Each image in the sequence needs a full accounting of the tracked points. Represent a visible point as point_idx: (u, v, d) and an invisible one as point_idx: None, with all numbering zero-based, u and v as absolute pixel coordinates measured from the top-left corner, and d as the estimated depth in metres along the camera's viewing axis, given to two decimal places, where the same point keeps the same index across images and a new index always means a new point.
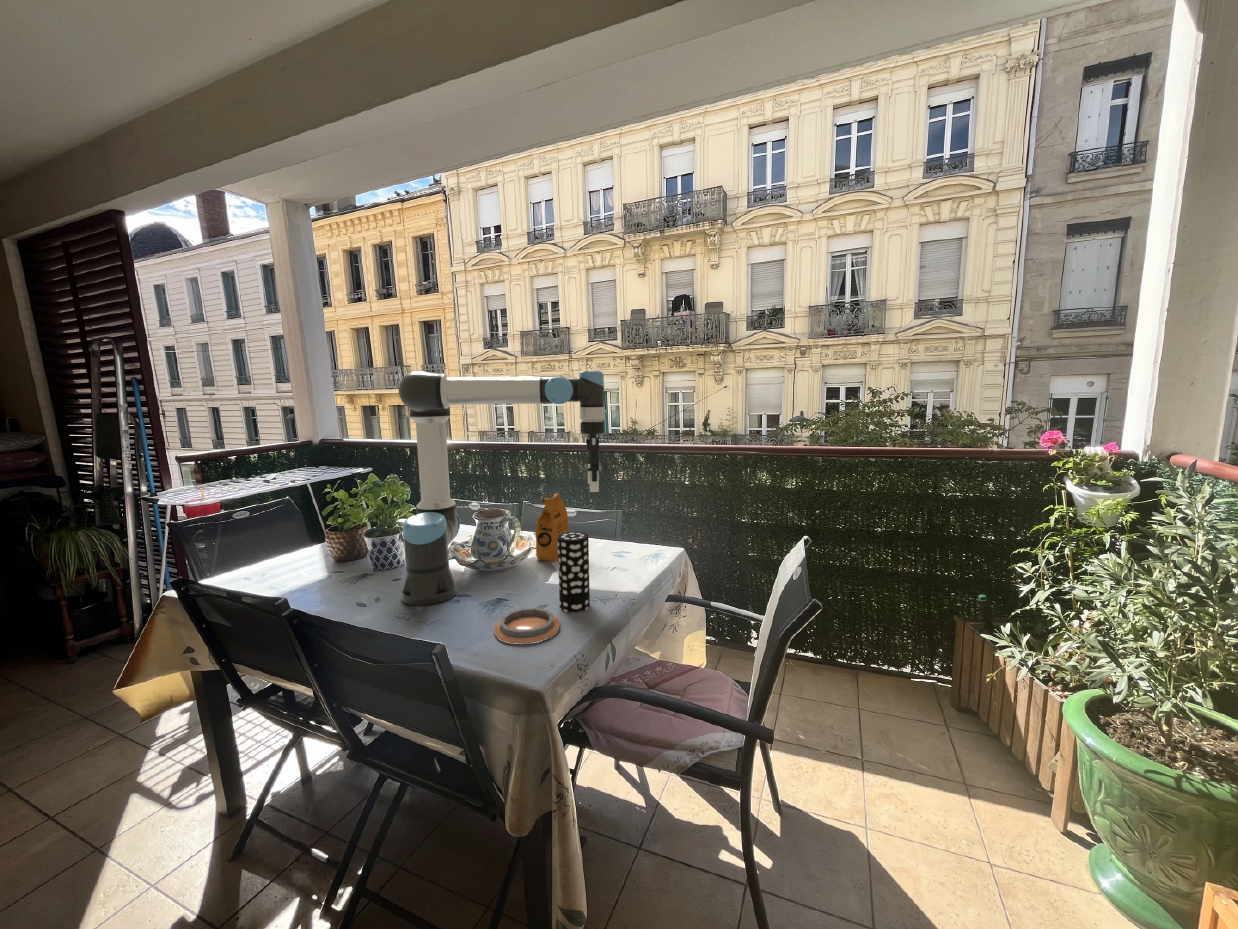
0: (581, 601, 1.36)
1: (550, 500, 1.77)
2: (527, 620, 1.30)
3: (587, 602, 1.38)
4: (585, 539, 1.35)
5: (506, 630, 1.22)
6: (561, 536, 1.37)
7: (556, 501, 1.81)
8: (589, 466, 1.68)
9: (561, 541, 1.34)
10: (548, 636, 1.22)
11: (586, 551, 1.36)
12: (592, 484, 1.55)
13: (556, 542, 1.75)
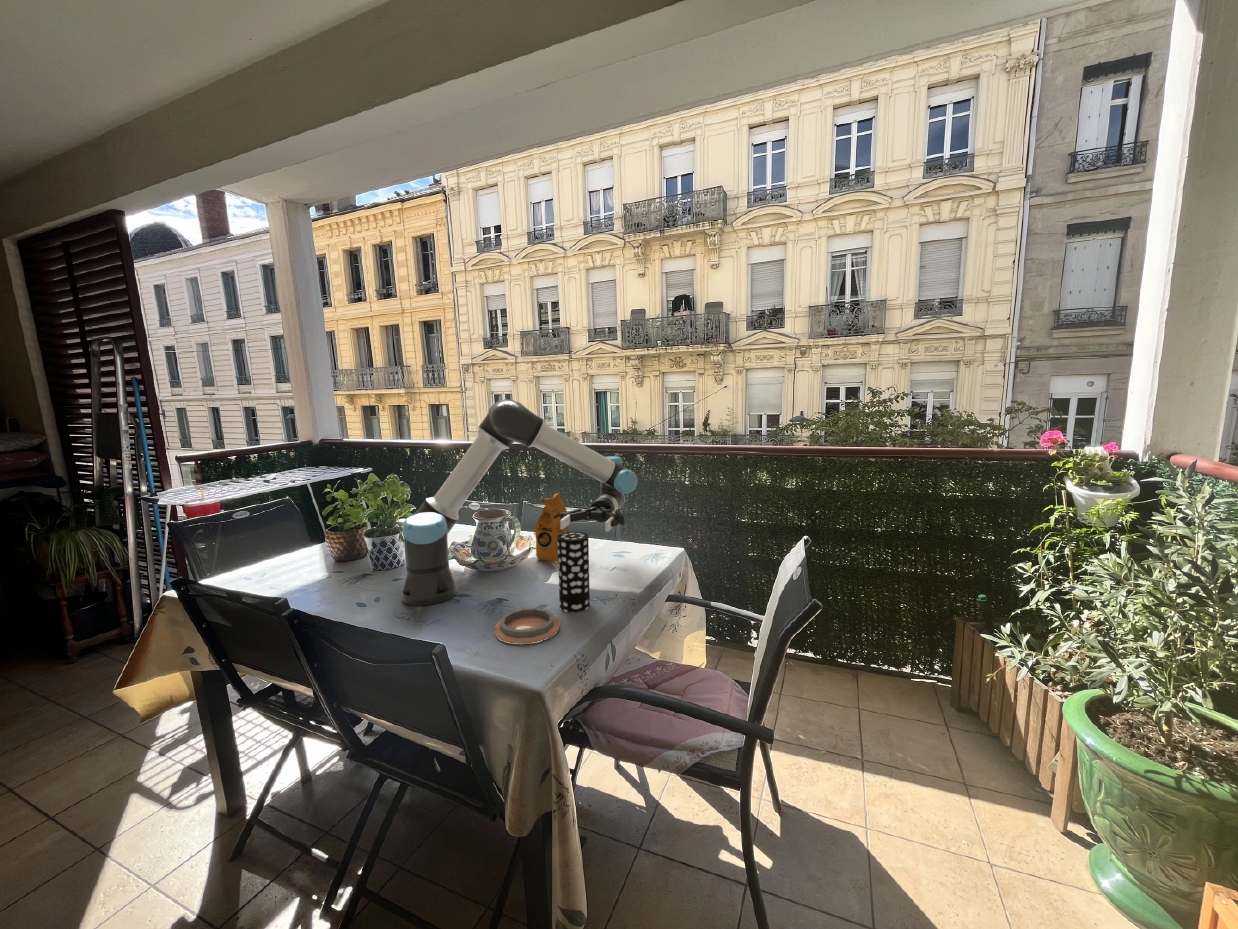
0: (581, 601, 1.36)
1: (550, 500, 1.77)
2: (527, 620, 1.30)
3: (587, 602, 1.38)
4: (585, 539, 1.35)
5: (506, 630, 1.22)
6: (561, 536, 1.37)
7: (556, 501, 1.81)
8: (569, 517, 1.54)
9: (561, 541, 1.34)
10: (548, 636, 1.22)
11: (586, 551, 1.36)
12: (609, 522, 1.47)
13: (556, 542, 1.75)
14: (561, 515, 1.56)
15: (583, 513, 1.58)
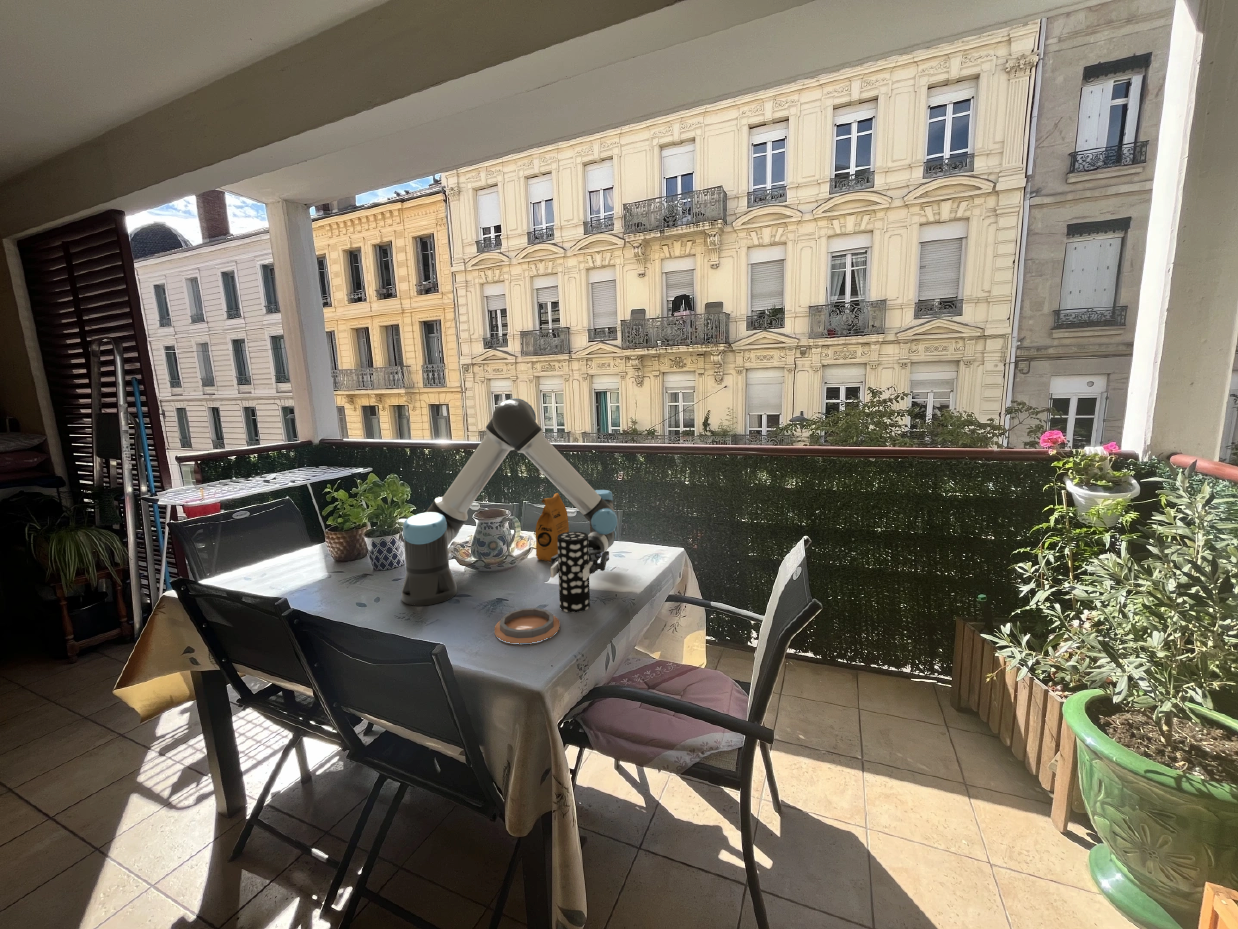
0: (581, 601, 1.36)
1: (550, 500, 1.77)
2: (527, 620, 1.30)
3: (587, 602, 1.38)
4: (585, 539, 1.35)
5: (506, 630, 1.22)
6: (561, 536, 1.37)
7: (556, 501, 1.81)
8: None
9: (561, 541, 1.34)
10: (548, 636, 1.22)
11: (586, 551, 1.36)
12: (588, 570, 1.35)
13: (556, 542, 1.75)
14: (552, 560, 1.43)
15: None
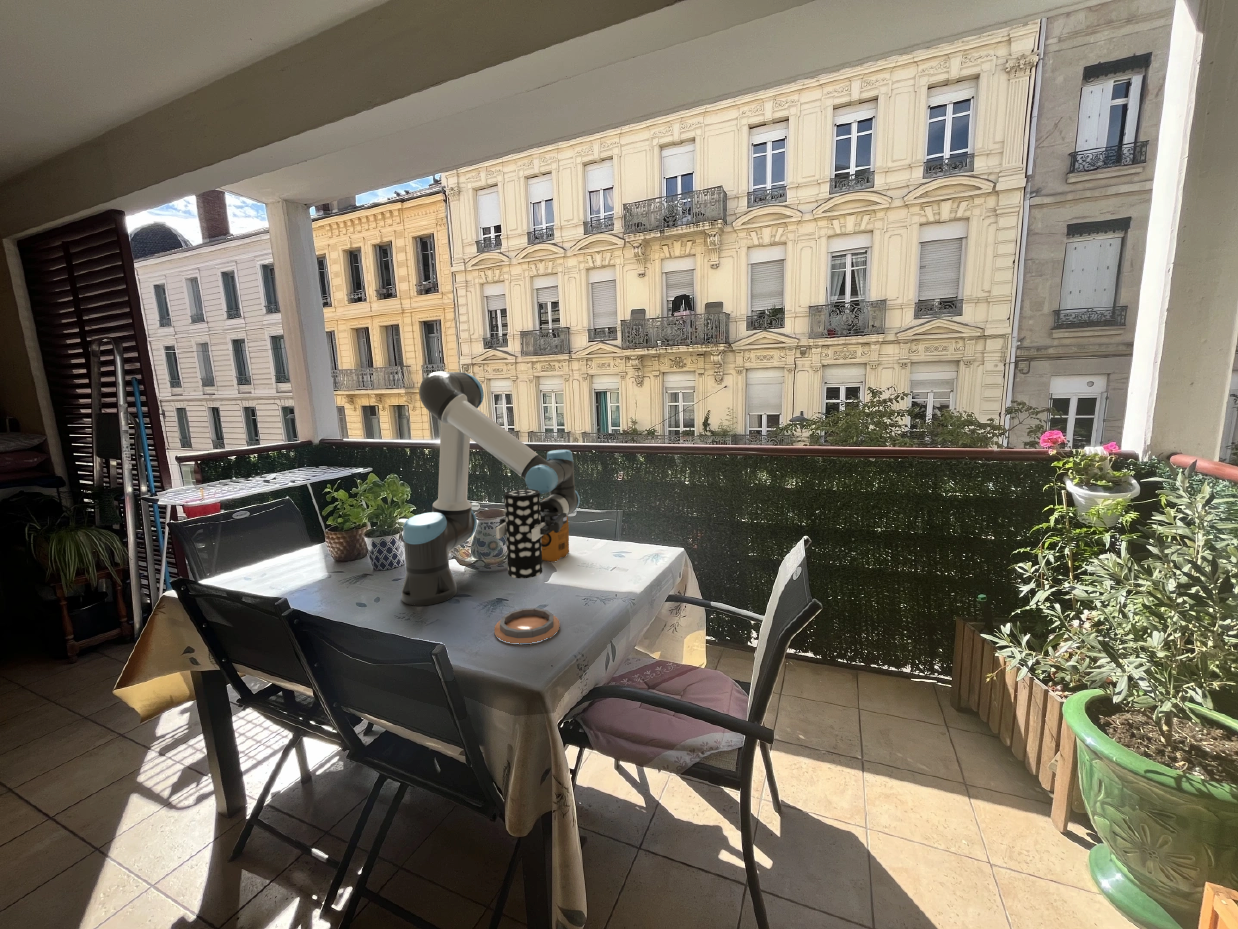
0: (531, 565, 1.21)
1: None
2: (527, 620, 1.30)
3: (538, 567, 1.23)
4: (535, 495, 1.20)
5: (506, 630, 1.22)
6: (509, 493, 1.22)
7: None
8: None
9: (507, 497, 1.19)
10: (548, 636, 1.22)
11: (536, 509, 1.21)
12: (538, 530, 1.20)
13: (556, 542, 1.75)
14: (501, 521, 1.28)
15: None
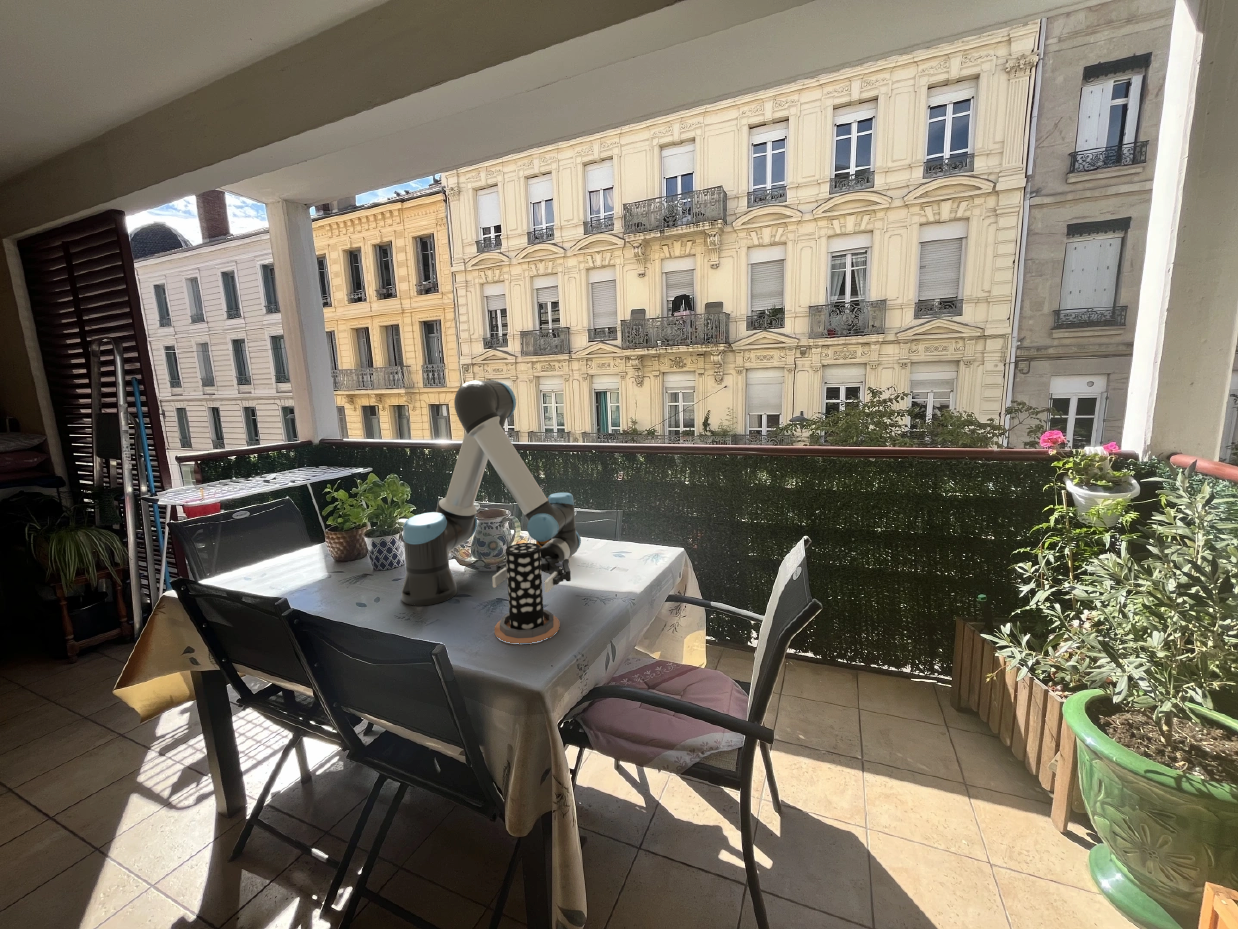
0: (533, 620, 1.23)
1: None
2: None
3: (540, 621, 1.25)
4: (536, 552, 1.22)
5: (506, 630, 1.22)
6: (510, 548, 1.24)
7: None
8: (506, 570, 1.29)
9: (509, 554, 1.21)
10: (548, 636, 1.22)
11: (537, 565, 1.23)
12: (551, 580, 1.23)
13: None
14: (497, 567, 1.31)
15: None
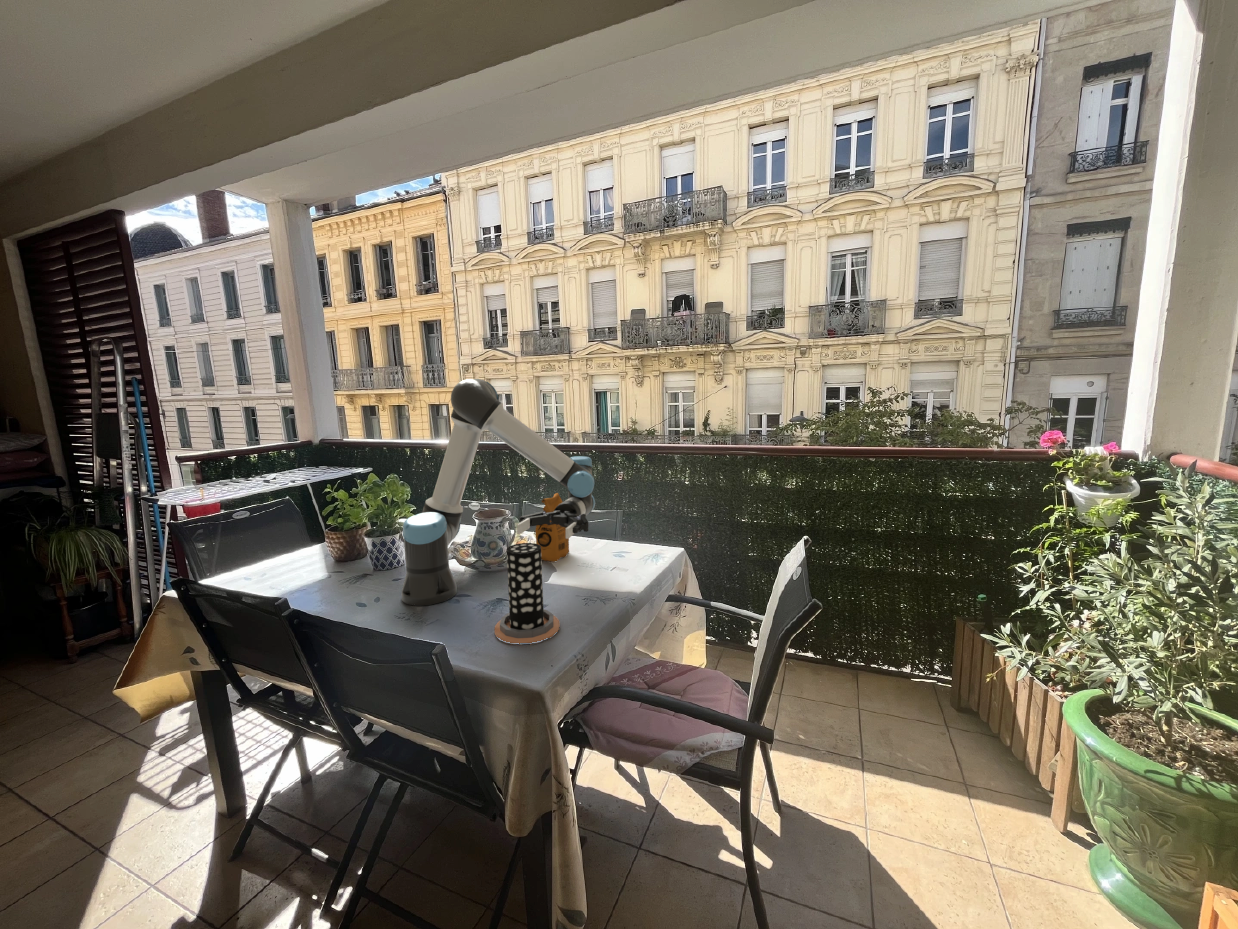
0: (533, 620, 1.23)
1: (550, 500, 1.77)
2: None
3: (540, 621, 1.25)
4: (537, 552, 1.22)
5: (506, 630, 1.22)
6: (511, 548, 1.24)
7: (556, 501, 1.81)
8: (528, 521, 1.40)
9: (509, 554, 1.21)
10: (548, 636, 1.22)
11: (538, 565, 1.23)
12: (571, 528, 1.34)
13: (556, 542, 1.75)
14: (520, 518, 1.42)
15: (545, 517, 1.45)
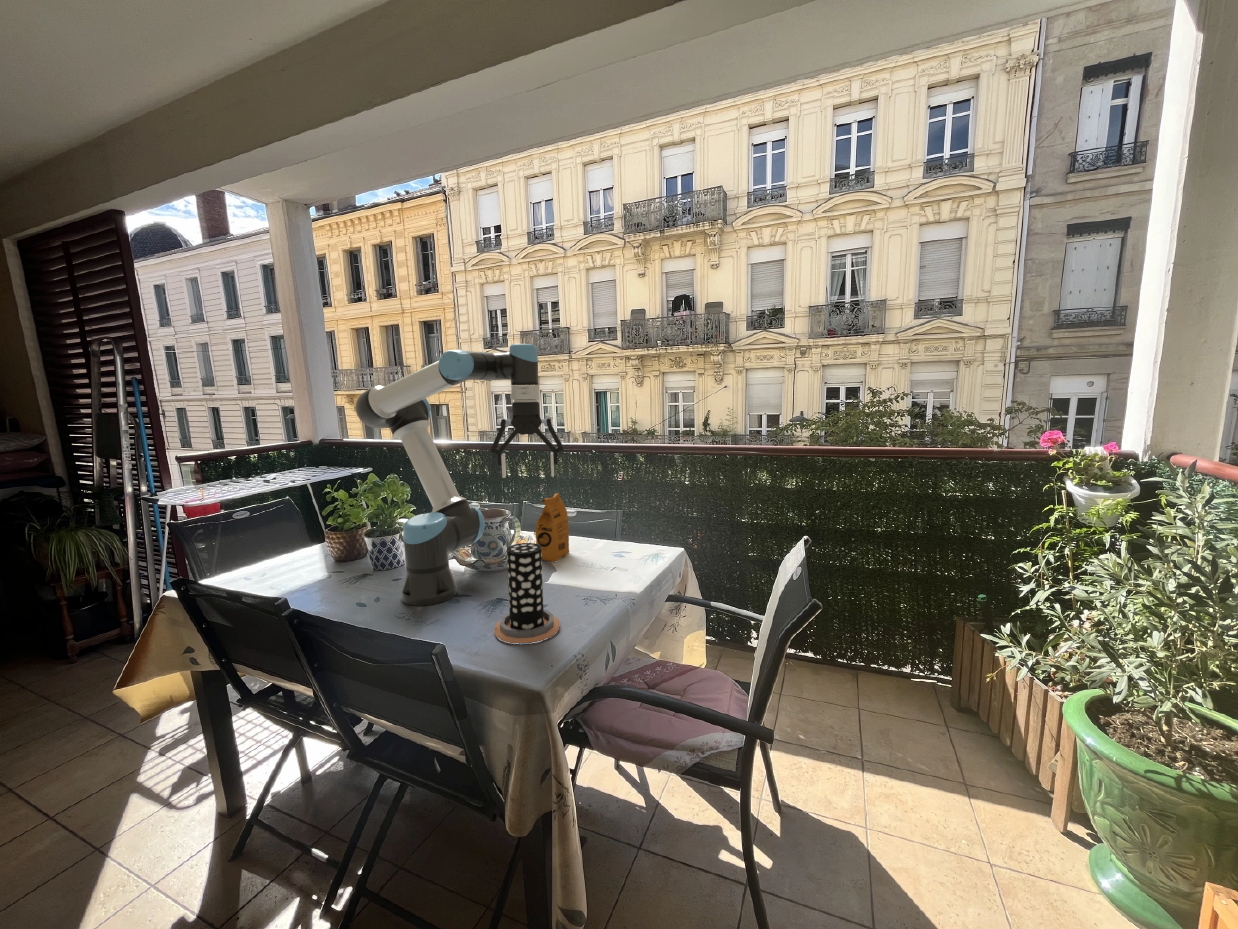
0: (533, 620, 1.23)
1: (550, 500, 1.77)
2: None
3: (540, 621, 1.25)
4: (537, 552, 1.22)
5: (506, 630, 1.22)
6: (511, 548, 1.24)
7: (556, 501, 1.81)
8: None
9: (510, 554, 1.21)
10: (548, 636, 1.22)
11: (538, 565, 1.23)
12: None
13: (556, 542, 1.75)
14: None
15: None
